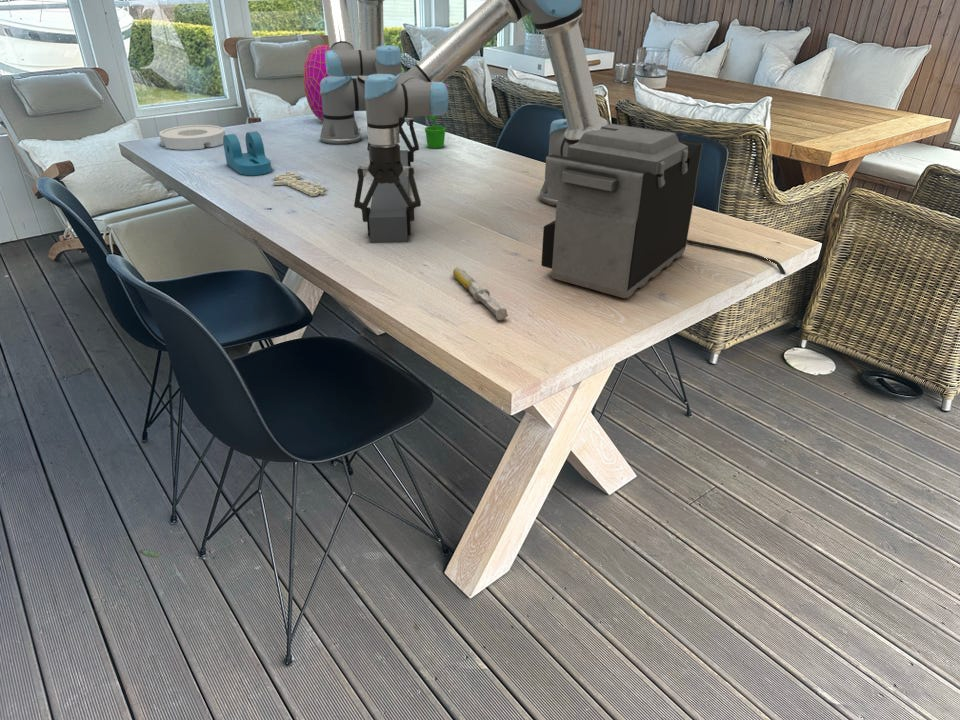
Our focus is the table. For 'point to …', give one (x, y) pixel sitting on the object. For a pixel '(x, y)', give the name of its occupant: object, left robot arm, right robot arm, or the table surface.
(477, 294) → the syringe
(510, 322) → the table surface
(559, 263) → the dark grey storage case
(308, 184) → the decorative sign
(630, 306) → the table surface
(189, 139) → the ashtray
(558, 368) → the table surface
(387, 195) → the thick board
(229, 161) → the camera mount
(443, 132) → the potted flower
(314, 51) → the decorative egg
